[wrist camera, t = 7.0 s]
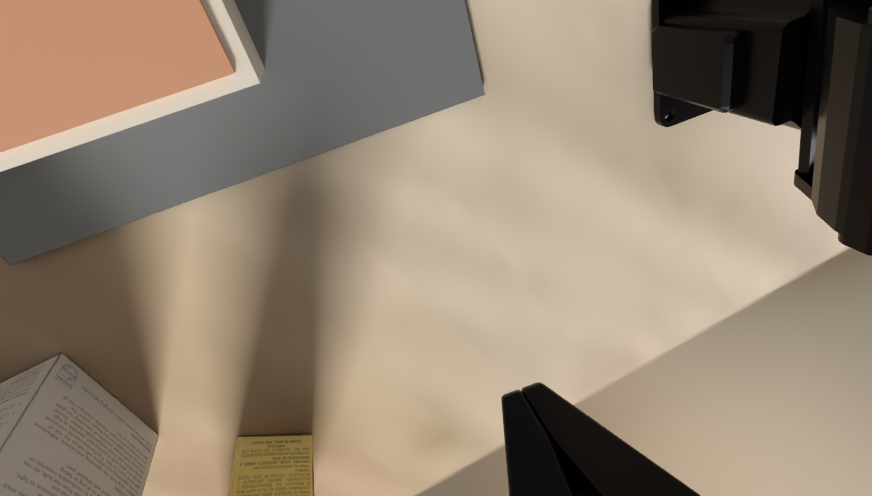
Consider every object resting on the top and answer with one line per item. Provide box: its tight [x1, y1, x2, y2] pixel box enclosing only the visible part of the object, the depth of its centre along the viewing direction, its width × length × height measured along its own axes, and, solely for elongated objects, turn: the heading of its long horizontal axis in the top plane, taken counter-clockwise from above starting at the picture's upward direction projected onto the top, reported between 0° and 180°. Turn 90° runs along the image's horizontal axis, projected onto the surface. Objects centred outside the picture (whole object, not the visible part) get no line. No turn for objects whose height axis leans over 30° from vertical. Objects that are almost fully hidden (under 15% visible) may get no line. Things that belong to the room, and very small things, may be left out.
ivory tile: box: [0, 0, 265, 172], centre depth 13 cm, size 3×7×10 cm
